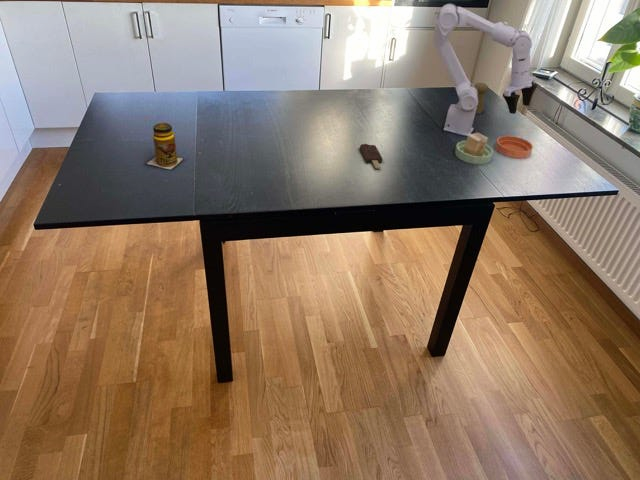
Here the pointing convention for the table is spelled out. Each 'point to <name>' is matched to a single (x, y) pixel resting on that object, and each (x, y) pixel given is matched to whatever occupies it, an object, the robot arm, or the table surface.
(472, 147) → the box
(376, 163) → the ice cream bar
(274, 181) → the table surface
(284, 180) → the table surface
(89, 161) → the table surface
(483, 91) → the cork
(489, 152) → the celadon bowl
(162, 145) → the condiment
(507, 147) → the terracotta bowl
